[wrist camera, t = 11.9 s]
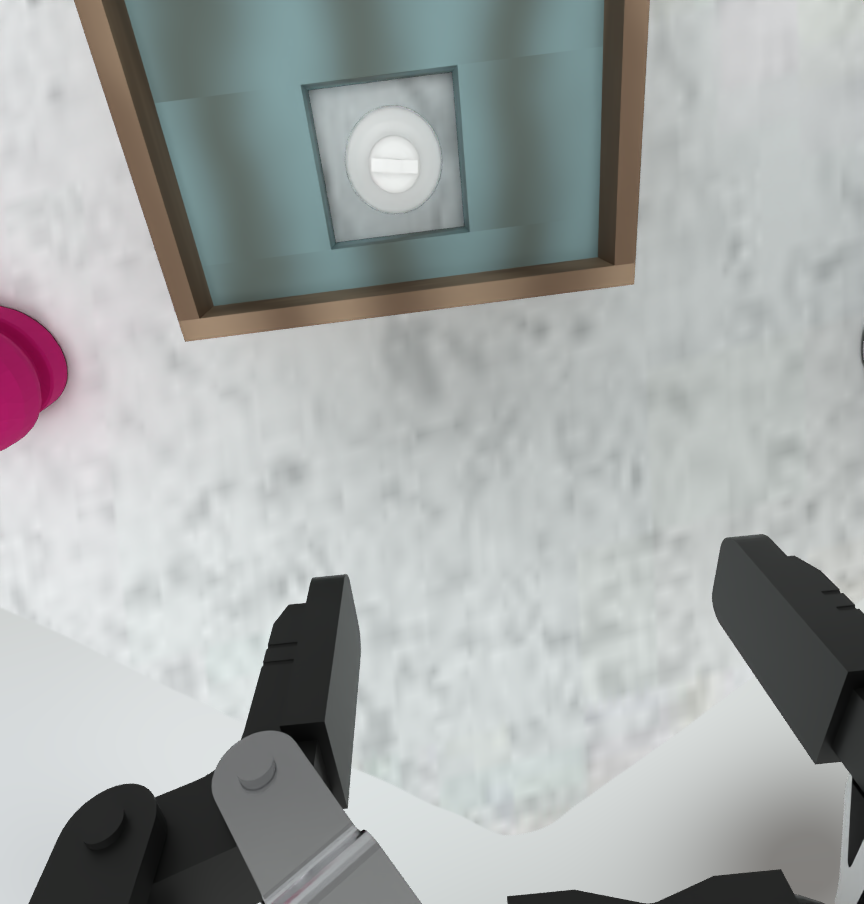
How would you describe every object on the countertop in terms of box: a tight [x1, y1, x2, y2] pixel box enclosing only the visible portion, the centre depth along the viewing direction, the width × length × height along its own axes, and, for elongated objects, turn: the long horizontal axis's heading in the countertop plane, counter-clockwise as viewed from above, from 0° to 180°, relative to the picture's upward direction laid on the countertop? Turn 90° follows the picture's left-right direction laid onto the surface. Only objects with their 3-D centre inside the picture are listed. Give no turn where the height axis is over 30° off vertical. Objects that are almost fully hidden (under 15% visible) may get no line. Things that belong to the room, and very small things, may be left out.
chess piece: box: [345, 105, 442, 214], centre depth 25 cm, size 5×5×10 cm
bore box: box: [74, 0, 650, 342], centre depth 26 cm, size 22×16×5 cm
